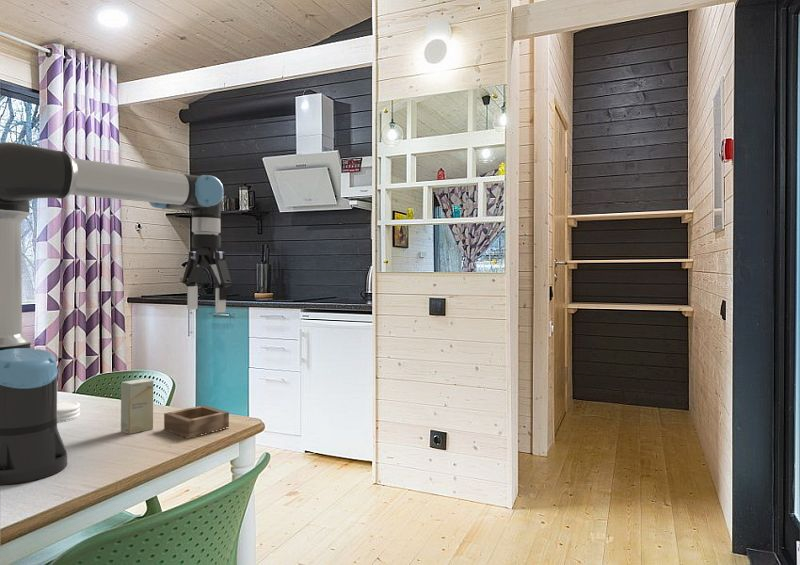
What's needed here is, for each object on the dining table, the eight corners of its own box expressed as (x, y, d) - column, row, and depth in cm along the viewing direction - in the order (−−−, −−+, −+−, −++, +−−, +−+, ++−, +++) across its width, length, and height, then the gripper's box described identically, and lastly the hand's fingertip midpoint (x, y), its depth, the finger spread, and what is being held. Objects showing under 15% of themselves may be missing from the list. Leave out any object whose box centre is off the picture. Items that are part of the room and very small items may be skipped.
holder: (188, 438, 135) (188, 421, 134) (164, 429, 141) (164, 413, 141) (228, 428, 143) (228, 412, 143) (203, 420, 150) (203, 405, 150)
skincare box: (129, 434, 137) (129, 384, 136) (120, 431, 139) (119, 381, 139) (154, 428, 142) (154, 380, 141) (144, 425, 144) (144, 377, 144)
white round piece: (65, 424, 145) (65, 410, 145) (27, 423, 146) (26, 409, 146) (87, 413, 155) (87, 401, 155) (51, 413, 156) (51, 400, 156)
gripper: (245, 233, 153) (245, 312, 154) (193, 235, 168) (193, 307, 169) (221, 232, 147) (220, 314, 148) (169, 234, 162) (169, 308, 163)
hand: (206, 310), depth 158 cm, fingers open, 13 cm apart
